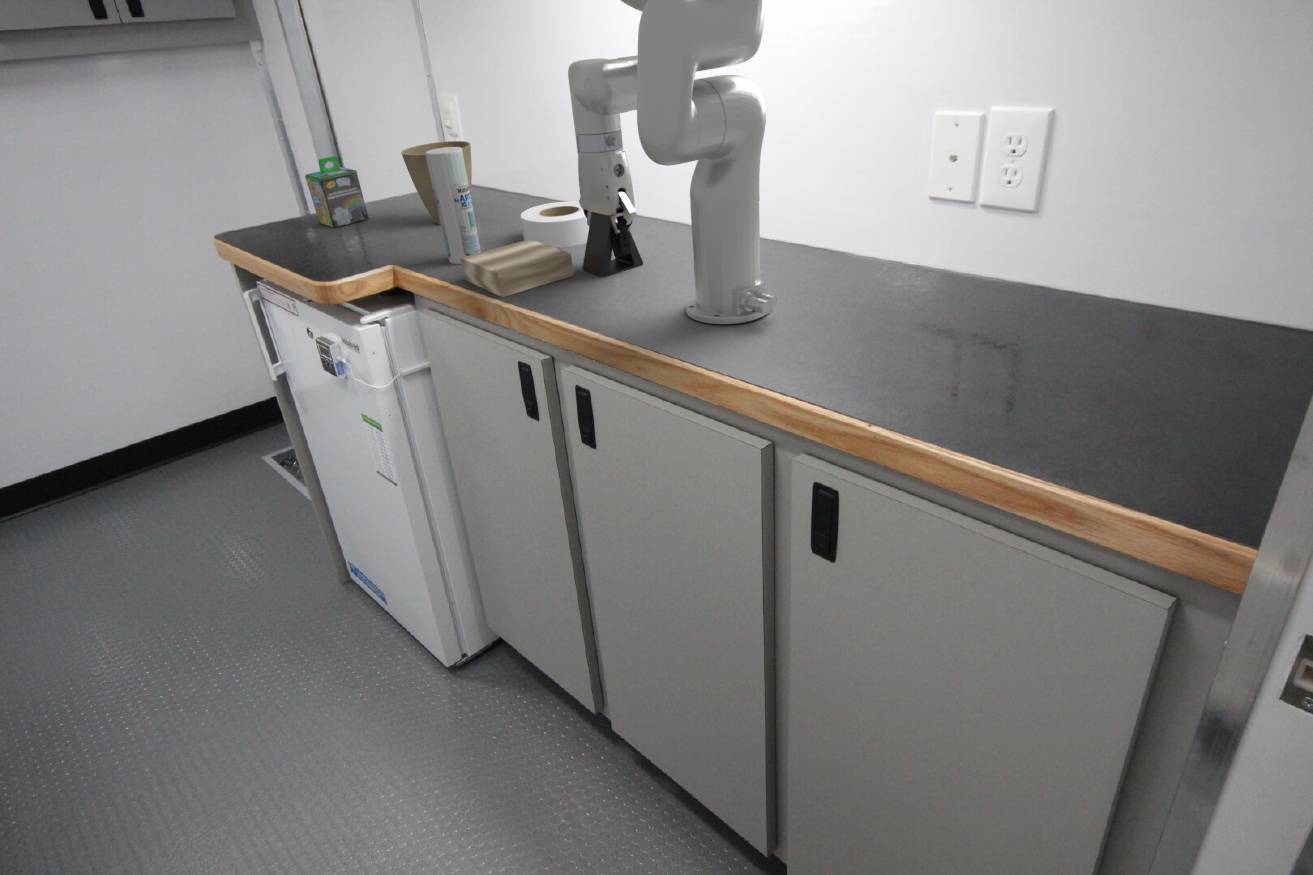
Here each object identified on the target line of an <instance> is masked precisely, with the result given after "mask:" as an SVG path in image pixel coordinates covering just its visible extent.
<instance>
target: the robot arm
mask: <svg viewBox="0 0 1313 875" xmlns="http://www.w3.org/2000/svg"><path fill="white" fill-rule="evenodd" d="M620 1H621V2H622V3H623V4H625V5H627V6H628V7H630V8H632V9H635V10H636V11H639V12H642V13H641V15H640V19H639V24H638V30H637V31H638V32H637V33H638V34H637V55H632V56H631V55H630V56H623V57H617V58H612V59H608V58H601V57H600V58H599V57H598V58H588V59H581V60H576V61H574V62H571V64H569V67H568V69H567V76H568V77H567V78H568V86H569V94H570V101H571V109H572V110H571V111H572V118H573V126H574V133H575V134H574V135H575V143H576V150H577V168H578V170H577V171H578V175H577V176H578V186H579V187H578V188H579V197H580V198H579V200H578V201H579V204H580V206H581V208H582V209H583V211H584V214H585V216H586V218H587V225H588V226H590V220H591V213H592V212H594V213H597V214H601V215H605V216H610V218H611V224H612V227H613V230H614V233H612V241H613V250H612V252H613V251H614V253H613V256H614V257H615V256H616V257H619V256H623V255H626V254H629V253H630V252H631V248H630V238H629V231H630V232H631V229H632V228H631V226H632V224H633V222H634V219H635V218H636V216H637V211H636V209H635V208H636V203H635V202H636V201H635V194H634V193H635V192H634V187H633V180H632V174H631V170H630V166H629V161H628V158H627V154H626V151H624V145H623V135H622V132H623V131H622V124H621V114H623V113H628V112H629V113H630V112H631V111H636V125H637V132H638V133H637V134H638V137H639V138H638V139H639V142H640V145H641V147H642V150H643V151H644V153H645V155H646V156H647V157H648V159H650V160H651V161H652V162H654V163H655V164H657V165H661V166H676V165H677V166H678V165H681V164H682V165H683V164H686V163H690V162H696V161H697V162H696V164H695V168H694V170H693V173H692V176H691V182H690V187H689V199H690V200H689V203H690V204H689V206H690V221H691V222H690V223H691V239H692V256H693V258H692V259H693V272H694V273H693V274H694V275H693V276H694V291H695V294H694V295H693V296H691V297H690V298H689V299H688V300H687V301H686V303H685V313H686V314H687V316H688V317H689V318H691V319H693V320H695V321H696V322H697V321H698V322H701V323H704V324H705V323H706V324H709V325H711V324H713V325H734V324H737V325H738V324H744V323H747V322H748V323H749V322H752V321H754V320H755V321H756V320H758V319H761V318H763V317H764V316H766V315H768V314H769V313H771V311H772V307H774V306H775V305H777V302H778V298H777V296H775V295H773V294H768V293H766V281H763V280H761V241H760V240H761V239H760V237H761V234H760V231H761V230H760V229H761V228H760V226H761V225H760V224H761V223H760V198H761V197H760V171H761V170H760V168H761V155H762V149H763V148H762V147H763V143H764V136H765V131H766V124H767V107H766V106H767V105H766V100H765V98H764V95H763V92H762V91H761V89H760V88H759V86H758V85H757V83H755V82H754V81H752V80H751V79H749V78H748V77H746V76H742V75H736V74H720V75H715V76H709V77H703V78H697V79H695V76H696V74H697V73H696V72H702V71H708V70H713V69H720V68H721V69H722V68H725V67H731V66H735V65H740V64H743V63H745V62H747V61H749V60H750V59H752V58H753V57H754V56H755V55H756V54H757V52H758V50H759V48H760V45H761V43H762V37H763V33H764V32H763V31H764V25H765V16H766V6H767V0H620ZM616 210H620V213H617V212H616ZM621 216H622V219H621V220H620V222H619V224H618V222H617V218H618V217H621Z"/></svg>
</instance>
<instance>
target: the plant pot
mask: <svg viewBox="0 0 1313 875" xmlns="http://www.w3.org/2000/svg"><path fill="white" fill-rule="evenodd" d="M444 147H460V148H462V152H463V157H464V163H465V168H466V174H467V179H468V184H469V190H470V195H471V194H472V179H473V178H472V174H473V173H472V168H473V167H472V149H471V147H472V146H471V143H470V142H469V141H464V140H462V141H461V140H455V141H454V140H447V141H439V142H438V141H437V142H432V143H431V142H430V143H425V144H420V145H415V146H410V147H407V148H405V149H403V150H401V153H400V154H401V156H402V158H403V161H404V164H405V166H406V169H407V172H408V174H409V177H410V179H411V181H412V183H413V185H414V187H415V188H414V189H416V191H417V193H418V195H419V196H418V197H420V199H421V202H422V203H423V205H424V207H425V208H426V210H427V211H428V214H429V215H430V217H431V218H432V220H433V221H434V223H436V224H437V225H441V223H440V218H439V213H438V209H437V204H436V200H435V195H434V191H433V186H432V182H431V177H430V173H429V168H428V164H427V159H426V154H425V153H426V152H427V151H429V150H432V149H437V148H444Z"/></svg>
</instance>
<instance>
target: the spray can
mask: <svg viewBox="0 0 1313 875" xmlns="http://www.w3.org/2000/svg"><path fill="white" fill-rule="evenodd" d="M425 154H426V159H427V164H428V168H429V173H430V177H431V182H432V186H433V191H434V195H435V200H436V204H437V209H438V213H439V218H440V223H441V224H440V227H441V232H442V236H443V240H444V244H445V250H446V253H447V258H448V261H449V263H450V264H452V265H462V263H461V258H462V257H465V256H469V255H473V254H477V253H480V252H482V251H481V245H480V240H479V235H478V229H477V223H476V218H475V213H474V212H475V211H474V206H473V200H472V196H471V195H470V190H469V184H468V179H467V174H466V168H465V163H464V157H463V152H462V148H460V147H444V148H437V149H432V150H429V151H427V152H426V153H425Z"/></svg>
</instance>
